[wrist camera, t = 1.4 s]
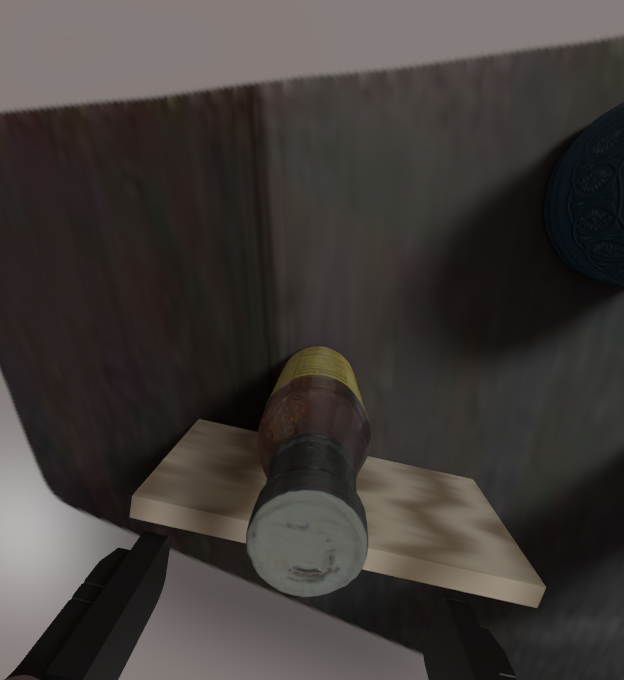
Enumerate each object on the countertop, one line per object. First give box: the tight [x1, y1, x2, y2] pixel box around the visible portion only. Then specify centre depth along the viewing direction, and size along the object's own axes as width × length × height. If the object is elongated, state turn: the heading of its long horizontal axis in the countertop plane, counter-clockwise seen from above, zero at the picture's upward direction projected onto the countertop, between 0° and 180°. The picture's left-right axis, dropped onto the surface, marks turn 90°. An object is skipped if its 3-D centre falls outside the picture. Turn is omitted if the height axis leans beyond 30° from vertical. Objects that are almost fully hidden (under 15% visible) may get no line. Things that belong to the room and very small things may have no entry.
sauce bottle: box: [246, 346, 371, 597], centre depth 21 cm, size 6×6×20 cm
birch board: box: [130, 419, 546, 608], centre depth 27 cm, size 26×2×11 cm, turn 78°
